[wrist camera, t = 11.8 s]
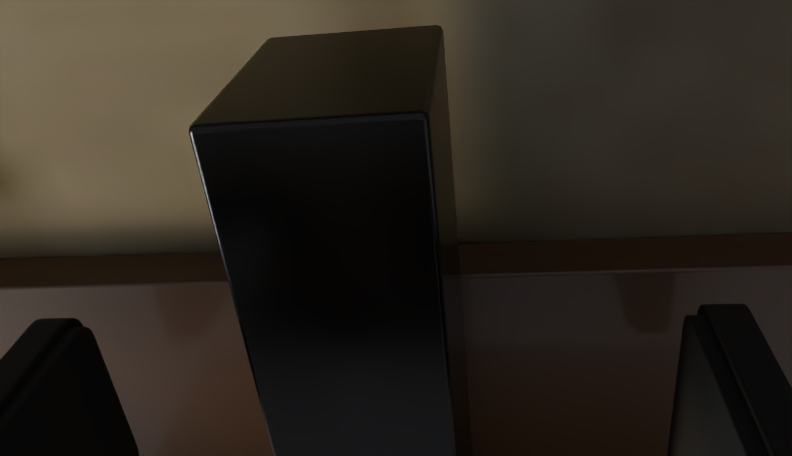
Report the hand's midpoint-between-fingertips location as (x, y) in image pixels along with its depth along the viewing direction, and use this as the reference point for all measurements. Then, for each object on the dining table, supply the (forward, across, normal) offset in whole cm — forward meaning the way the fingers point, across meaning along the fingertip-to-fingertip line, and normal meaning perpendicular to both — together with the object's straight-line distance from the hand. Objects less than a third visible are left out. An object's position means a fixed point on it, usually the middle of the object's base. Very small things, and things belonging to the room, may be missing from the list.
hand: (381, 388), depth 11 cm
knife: (+2, 0, +7) cm, 7 cm away
